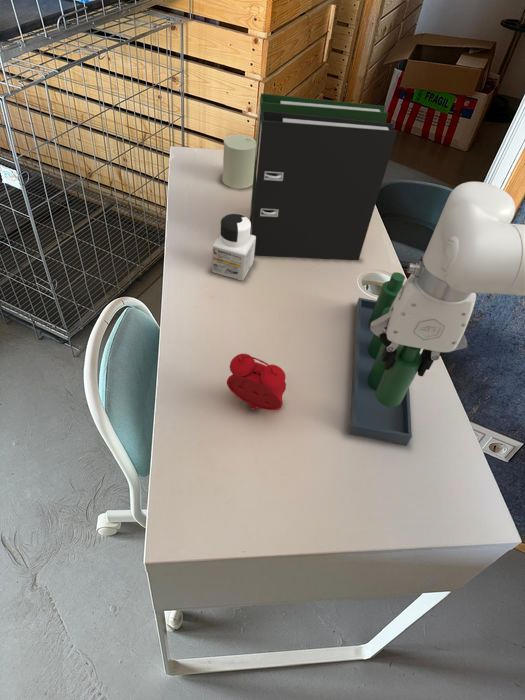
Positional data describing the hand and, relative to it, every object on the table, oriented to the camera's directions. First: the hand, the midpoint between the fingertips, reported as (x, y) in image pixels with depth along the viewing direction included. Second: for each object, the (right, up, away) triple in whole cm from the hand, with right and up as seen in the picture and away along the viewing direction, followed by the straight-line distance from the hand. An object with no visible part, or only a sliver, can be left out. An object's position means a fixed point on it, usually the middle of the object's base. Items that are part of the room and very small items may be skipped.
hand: (403, 365), depth 77 cm
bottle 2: (+1, +2, +21) cm, 21 cm away
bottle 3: (0, -4, +16) cm, 16 cm away
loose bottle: (-1, -6, +6) cm, 8 cm away
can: (-30, +52, +64) cm, 87 cm away
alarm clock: (-24, -8, +10) cm, 27 cm away
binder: (-12, +30, +46) cm, 56 cm away
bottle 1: (+3, +8, +27) cm, 28 cm away
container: (-29, +22, +36) cm, 52 cm away
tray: (+1, -1, +19) cm, 19 cm away
